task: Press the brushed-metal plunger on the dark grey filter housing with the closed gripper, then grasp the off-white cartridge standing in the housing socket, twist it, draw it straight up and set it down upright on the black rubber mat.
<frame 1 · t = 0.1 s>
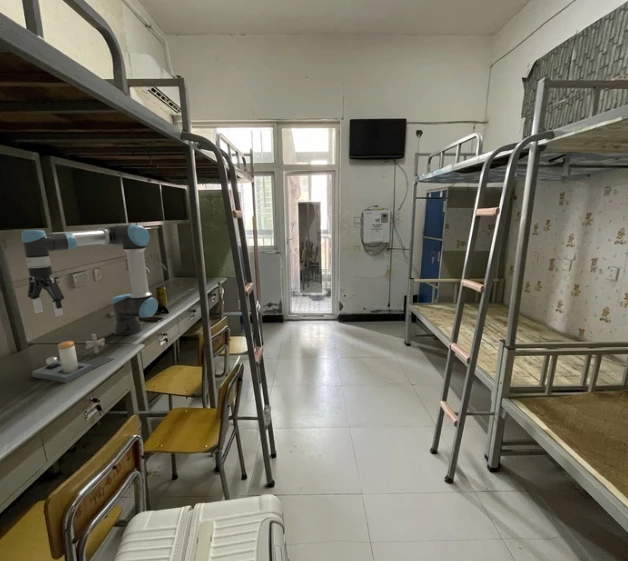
hand: (49, 314, 138), 28 cm above the table, fingers open, 13 cm apart
pipe connector: (96, 352, 163), on the table
mat: (96, 362, 152), on the table
plunger: (52, 362, 143), point 5 cm above the table, slide at 0.0 cm
housing: (63, 373, 142), on the table
cartridge: (71, 374, 140), resting in housing
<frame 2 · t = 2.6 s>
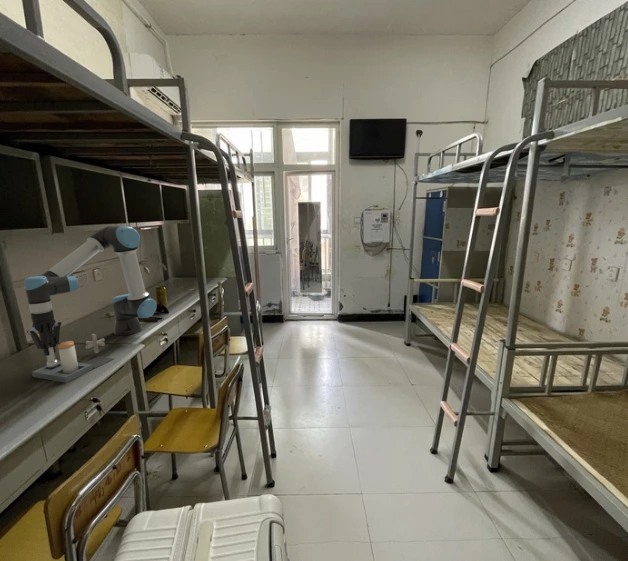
hand: (51, 360, 142), 5 cm above the table, fingers closed
plunger: (52, 364, 143), point 3 cm above the table, slide at 1.4 cm, touching gripper
everything else where it was.
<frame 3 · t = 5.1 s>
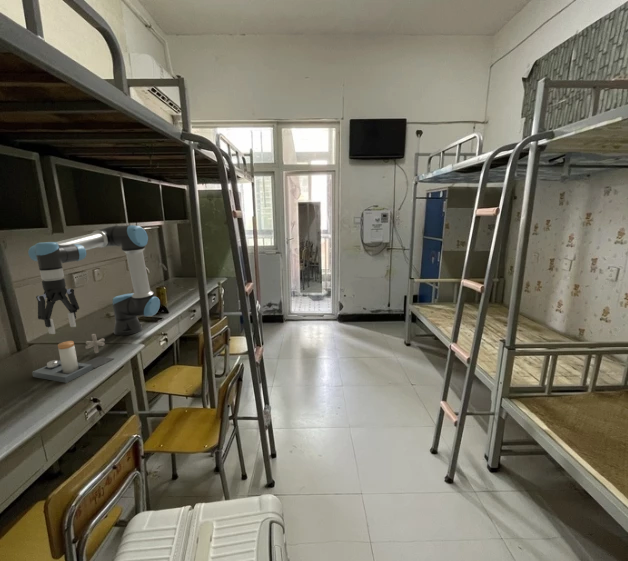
hand: (63, 329, 136), 21 cm above the table, fingers open, 8 cm apart
plunger: (52, 365, 143), point 3 cm above the table, slide at 1.8 cm
everything else where it was.
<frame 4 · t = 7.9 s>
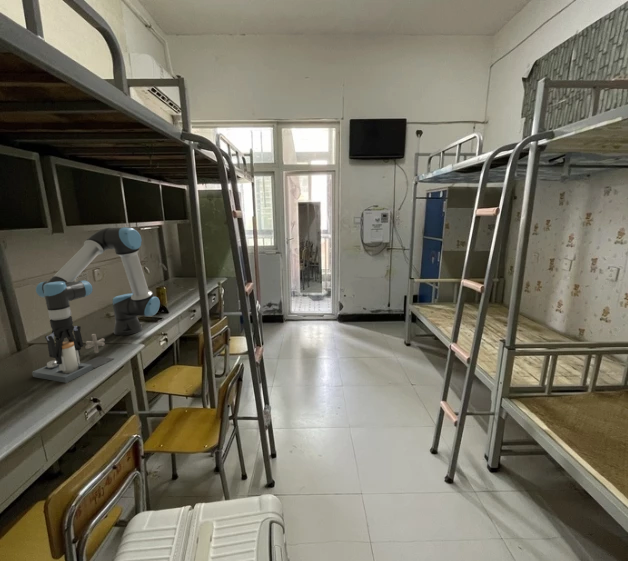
hand: (70, 366, 140), 4 cm above the table, fingers closed on cartridge, 6 cm apart
cartridge: (71, 374, 140), resting in housing, touching gripper
everything else where it was.
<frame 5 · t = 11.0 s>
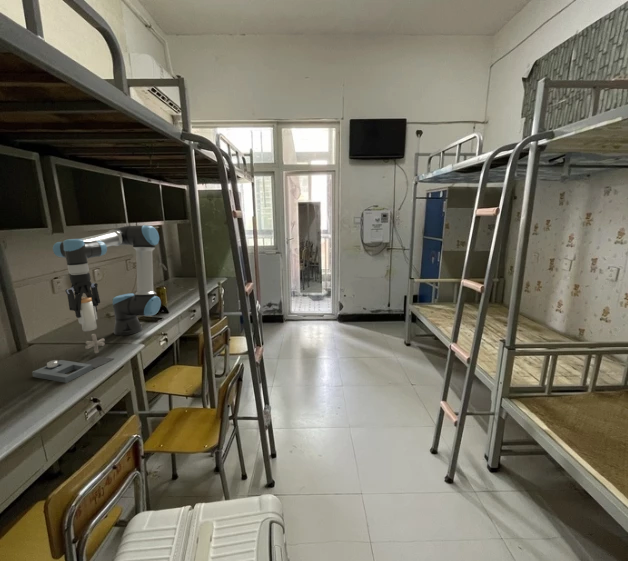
hand: (88, 321, 147), 21 cm above the table, fingers closed on cartridge, 6 cm apart
cartridge: (89, 328, 148), point 17 cm above the table, touching gripper
everything else where it was.
when the fingers open (5 cm above the table, at t = 14.5 s): cartridge stays where it is, resting on mat.
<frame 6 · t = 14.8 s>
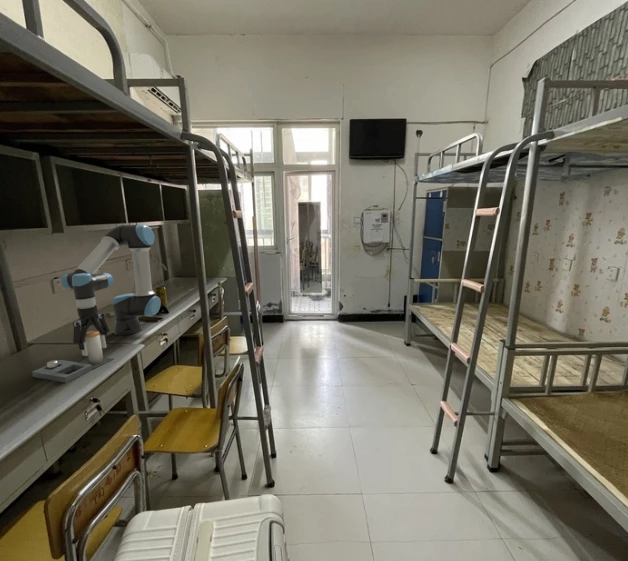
hand: (94, 351, 151), 6 cm above the table, fingers open, 9 cm apart
cartridge: (96, 361, 152), resting on mat
everything else where it was.
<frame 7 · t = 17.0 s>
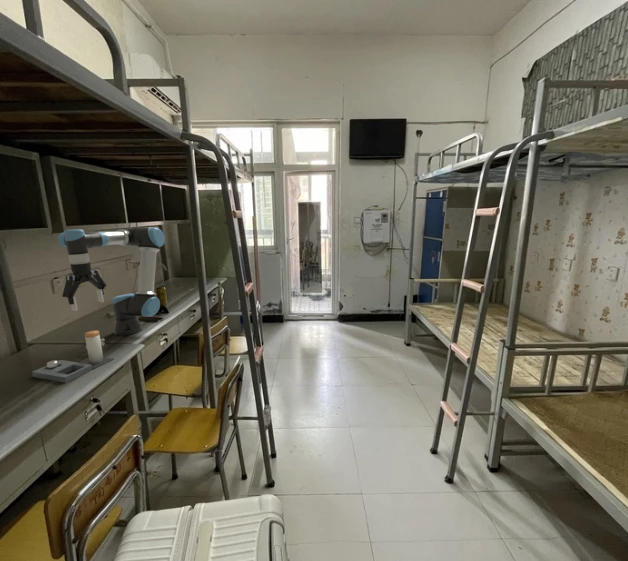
hand: (88, 306, 151), 27 cm above the table, fingers open, 13 cm apart
nothing on the table moved.
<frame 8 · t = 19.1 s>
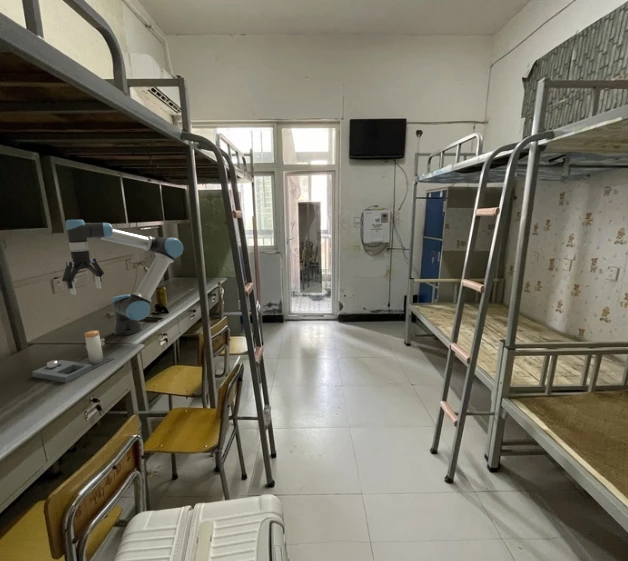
hand: (86, 291, 162), 32 cm above the table, fingers open, 13 cm apart
nothing on the table moved.
at the end: plunger slide at 1.8 cm; cartridge inside the target area on the mat (0.1 cm from its centre), point 0.4 cm above the mat's base; cartridge tilted 1° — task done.
